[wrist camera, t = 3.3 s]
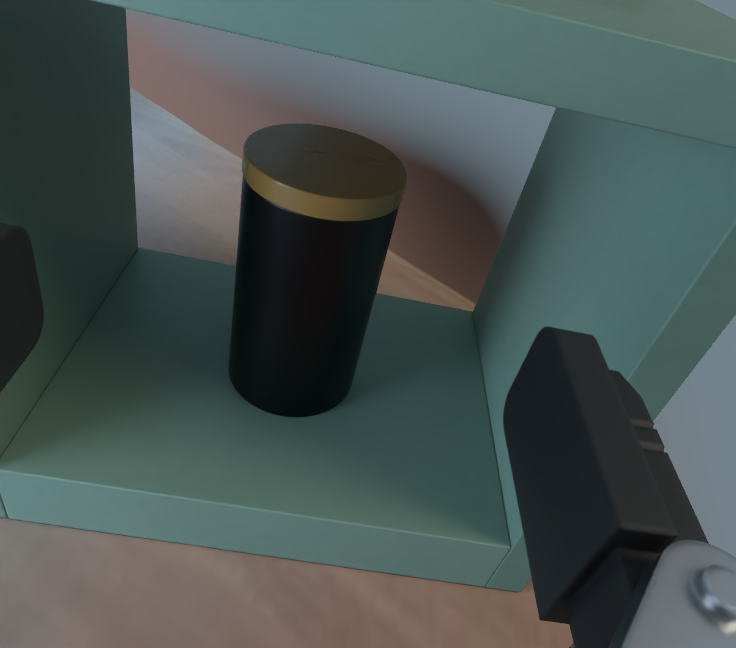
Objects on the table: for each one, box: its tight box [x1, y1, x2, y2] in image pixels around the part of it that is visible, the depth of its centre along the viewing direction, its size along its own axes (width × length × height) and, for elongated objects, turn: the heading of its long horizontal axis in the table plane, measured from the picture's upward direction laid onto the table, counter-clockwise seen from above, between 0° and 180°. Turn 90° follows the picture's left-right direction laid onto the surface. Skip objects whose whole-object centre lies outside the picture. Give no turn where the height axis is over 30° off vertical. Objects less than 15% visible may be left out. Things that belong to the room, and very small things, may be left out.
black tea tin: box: [229, 124, 408, 417], centre depth 22 cm, size 6×6×10 cm
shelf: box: [0, 0, 736, 592], centre depth 21 cm, size 21×14×21 cm, turn 88°
